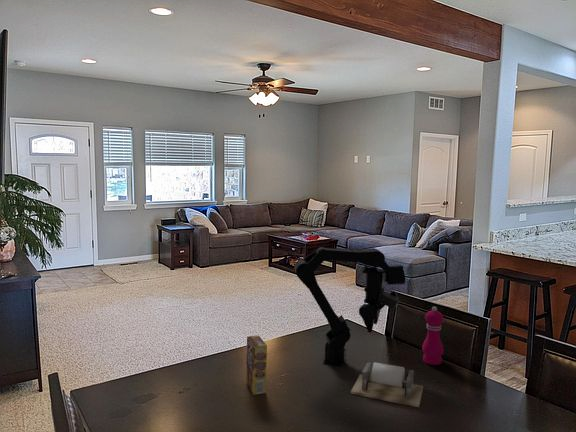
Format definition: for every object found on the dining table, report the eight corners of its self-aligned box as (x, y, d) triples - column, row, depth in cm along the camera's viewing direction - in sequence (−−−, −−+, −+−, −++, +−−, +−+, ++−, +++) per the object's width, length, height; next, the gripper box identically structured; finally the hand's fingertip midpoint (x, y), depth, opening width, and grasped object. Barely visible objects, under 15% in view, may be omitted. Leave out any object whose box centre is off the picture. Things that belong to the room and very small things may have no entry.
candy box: (267, 393, 136) (267, 345, 134) (253, 395, 134) (253, 346, 133) (259, 380, 144) (259, 334, 143) (246, 382, 143) (245, 336, 141)
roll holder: (350, 393, 136) (351, 373, 136) (359, 376, 147) (360, 357, 147) (419, 407, 129) (419, 385, 128) (423, 388, 140) (424, 368, 139)
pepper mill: (440, 357, 163) (442, 303, 161) (445, 366, 156) (447, 310, 154) (419, 356, 164) (422, 303, 161) (423, 365, 156) (426, 309, 154)
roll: (371, 385, 137) (371, 366, 136) (375, 377, 142) (375, 359, 142) (401, 391, 133) (402, 372, 133) (404, 382, 139) (404, 364, 138)
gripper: (393, 294, 145) (391, 340, 147) (401, 281, 162) (399, 322, 164) (359, 290, 149) (358, 335, 151) (370, 278, 167) (369, 318, 168)
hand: (372, 328), depth 158 cm, fingers open, 9 cm apart
